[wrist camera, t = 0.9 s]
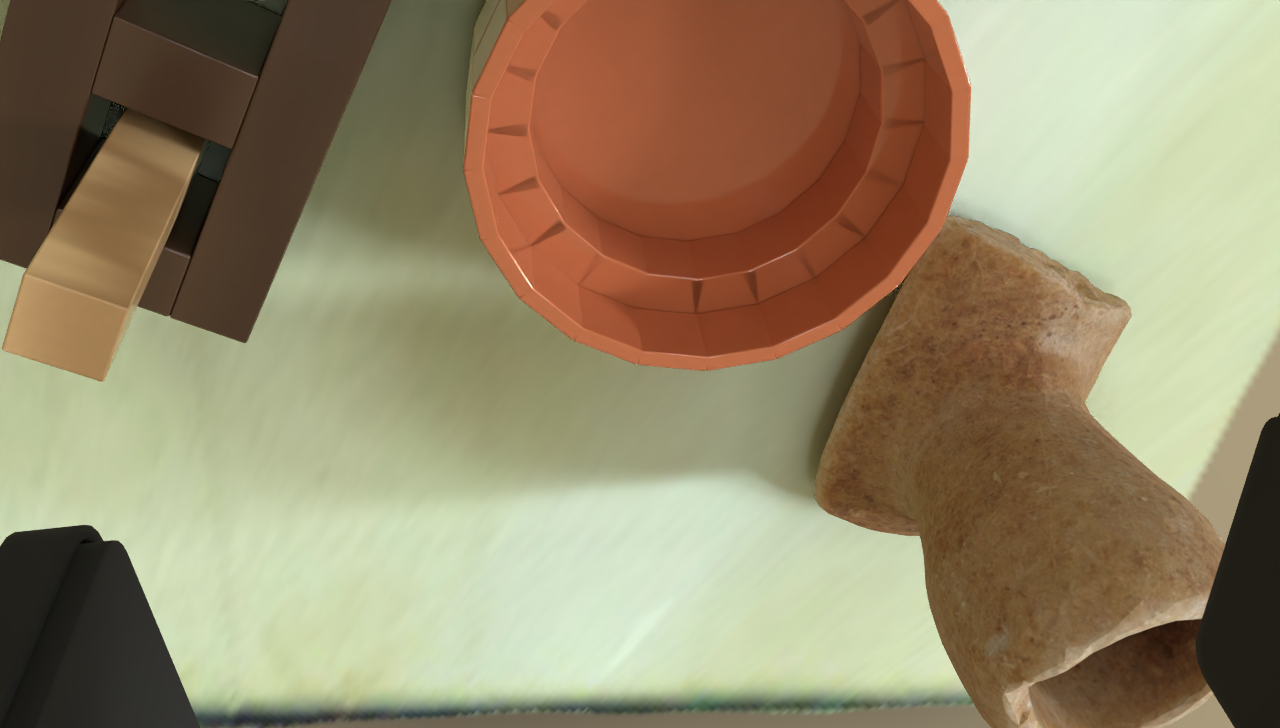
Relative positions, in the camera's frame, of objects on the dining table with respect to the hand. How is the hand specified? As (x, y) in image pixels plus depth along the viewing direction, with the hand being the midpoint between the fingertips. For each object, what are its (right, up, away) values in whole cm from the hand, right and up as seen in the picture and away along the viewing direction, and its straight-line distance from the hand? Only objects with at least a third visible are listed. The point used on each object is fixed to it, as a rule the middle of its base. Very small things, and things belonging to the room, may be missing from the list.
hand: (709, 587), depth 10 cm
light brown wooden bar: (-16, +10, +29) cm, 35 cm away
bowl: (+1, +11, +30) cm, 32 cm away
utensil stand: (-14, +13, +27) cm, 33 cm away
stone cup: (+13, +1, +39) cm, 42 cm away
